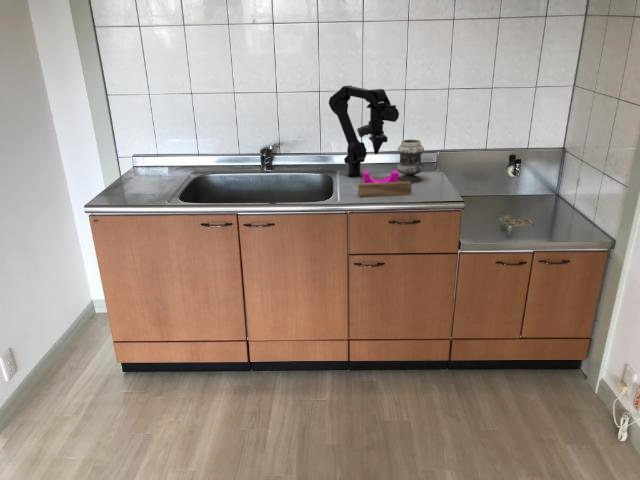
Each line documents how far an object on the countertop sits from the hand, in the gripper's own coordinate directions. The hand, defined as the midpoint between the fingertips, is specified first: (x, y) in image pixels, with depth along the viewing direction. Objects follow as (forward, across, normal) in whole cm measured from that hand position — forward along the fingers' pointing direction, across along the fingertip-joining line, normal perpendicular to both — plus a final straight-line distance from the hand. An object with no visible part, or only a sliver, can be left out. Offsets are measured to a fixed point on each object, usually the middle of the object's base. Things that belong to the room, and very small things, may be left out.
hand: (375, 154), depth 229 cm
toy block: (+13, +10, 0) cm, 16 cm away
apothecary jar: (+13, 0, +16) cm, 21 cm away
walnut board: (+13, +20, 0) cm, 24 cm away
